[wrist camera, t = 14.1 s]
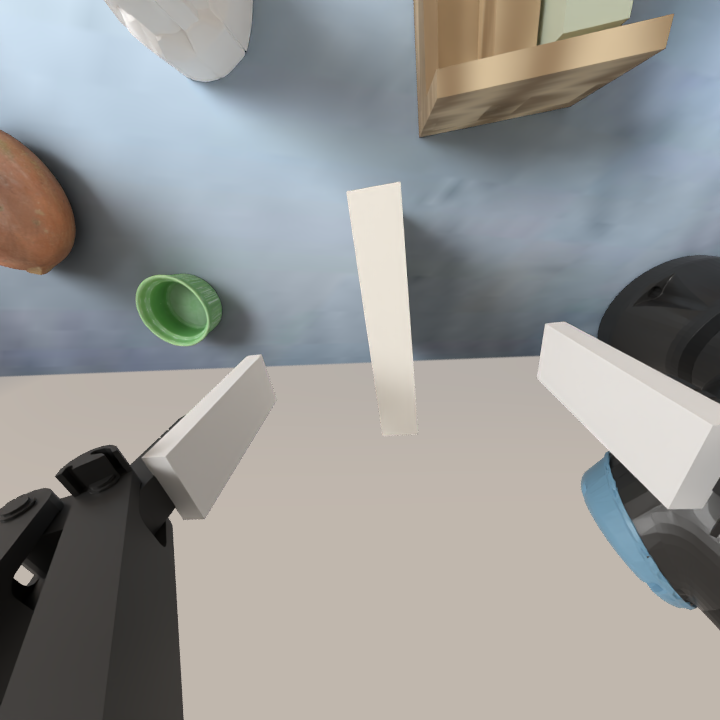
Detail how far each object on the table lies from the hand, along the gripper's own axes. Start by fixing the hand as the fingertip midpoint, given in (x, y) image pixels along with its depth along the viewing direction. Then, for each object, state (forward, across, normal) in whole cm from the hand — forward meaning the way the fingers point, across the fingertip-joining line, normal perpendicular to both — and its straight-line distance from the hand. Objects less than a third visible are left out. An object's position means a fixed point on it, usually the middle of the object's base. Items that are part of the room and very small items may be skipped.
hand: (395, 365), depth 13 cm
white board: (+23, 0, 0) cm, 23 cm away
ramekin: (+23, +26, 0) cm, 35 cm away
